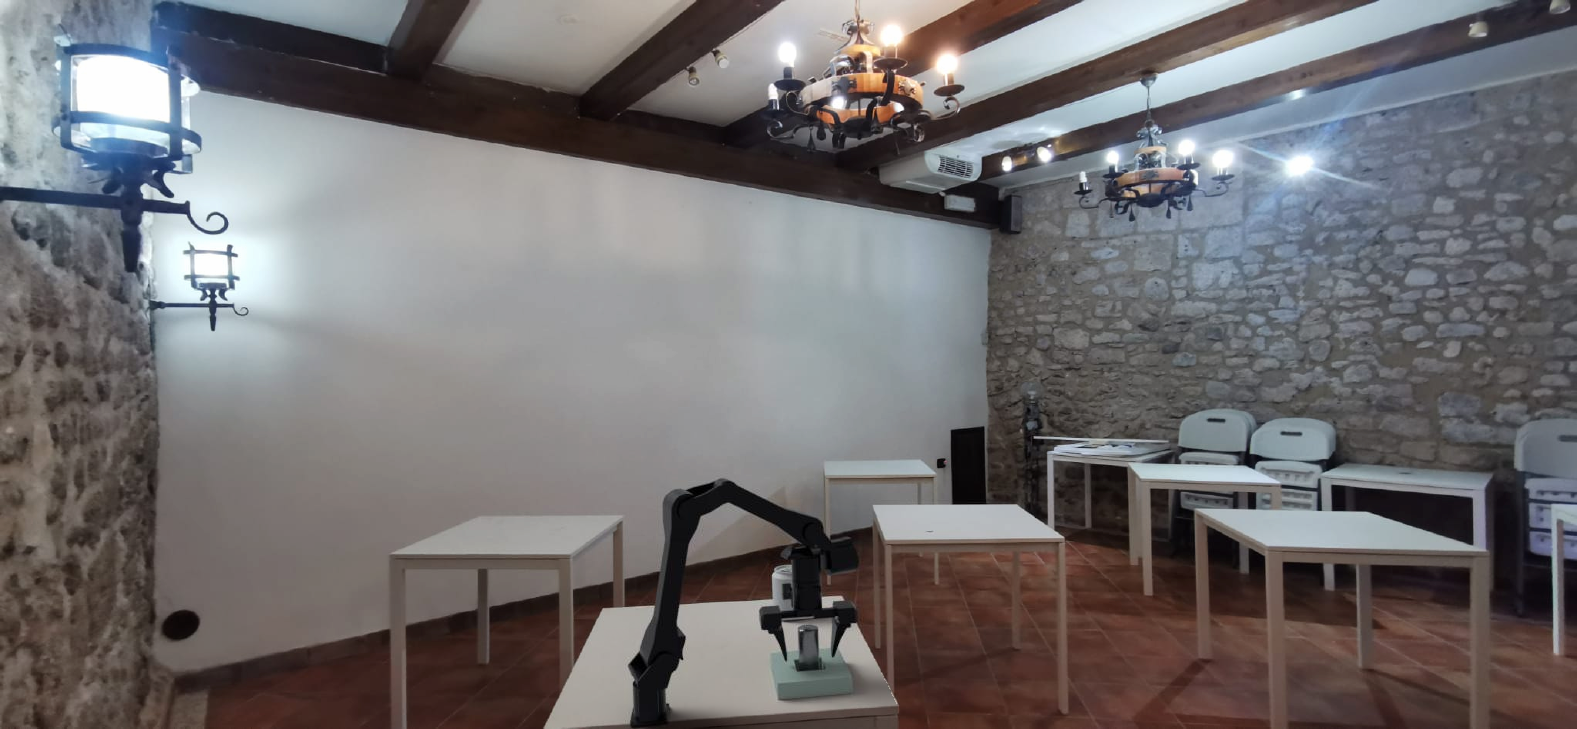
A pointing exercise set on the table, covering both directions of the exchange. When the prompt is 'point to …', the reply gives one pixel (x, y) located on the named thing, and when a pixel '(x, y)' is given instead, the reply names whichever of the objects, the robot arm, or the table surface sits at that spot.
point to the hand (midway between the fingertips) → (809, 658)
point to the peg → (808, 648)
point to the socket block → (810, 676)
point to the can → (781, 577)
